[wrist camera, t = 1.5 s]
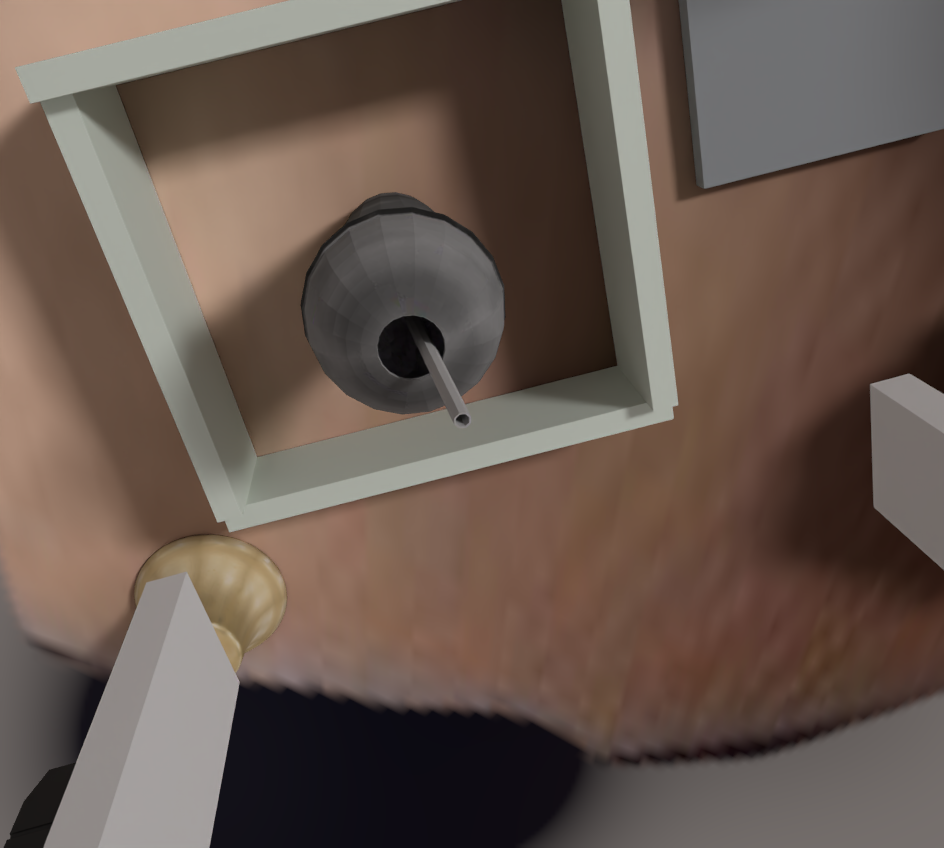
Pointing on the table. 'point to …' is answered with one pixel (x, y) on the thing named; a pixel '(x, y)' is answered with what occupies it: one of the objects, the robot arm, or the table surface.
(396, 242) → the beverage cup
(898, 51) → the slate tile
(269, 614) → the hand bell
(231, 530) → the frame
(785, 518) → the table surface
